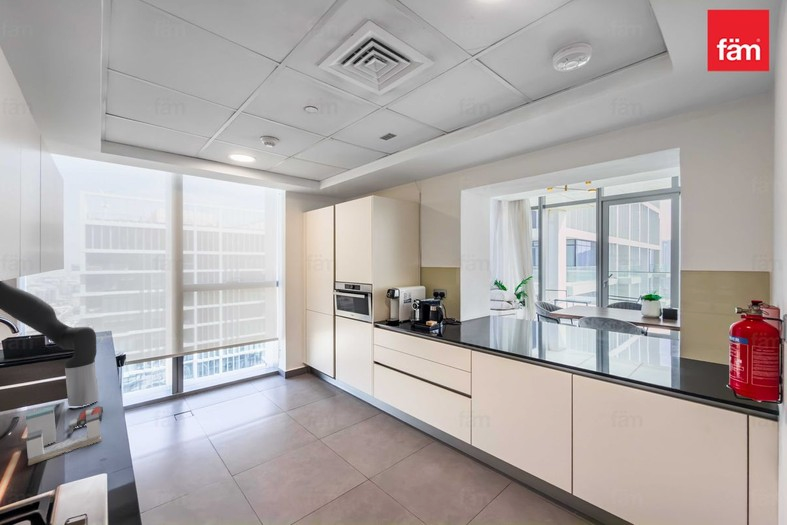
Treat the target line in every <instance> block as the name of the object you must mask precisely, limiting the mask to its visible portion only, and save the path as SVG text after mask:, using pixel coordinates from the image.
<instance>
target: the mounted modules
mask: <svg viewBox="0 0 787 525" xmlns="http://www.w3.org/2000/svg"><path fill="white" fill-rule="evenodd" d="M86 422H87V426H86V430H87V432H86V434H88V439H89V438H92V437H95V436H99V435H100V436H101V434H102V433H101V424H100V423H101V422H99V415H98V413H97V414H93V415H90V416H86ZM25 438H26V439H25V440H26V441H25V442H26V450H27V459H28V460H29V458H32V457H35V456H38V455H41V454H43V450H44V448H45V446H43V435H42V430H38V431H35V432H32V433H28V434H27V435H26V437H25Z"/></svg>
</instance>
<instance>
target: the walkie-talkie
mask: <svg viewBox="0 0 787 525" xmlns="http://www.w3.org/2000/svg"><path fill="white" fill-rule="evenodd" d="M103 409H104V408H103V406H93V407H90V408H89V407H88V408H86V409H84V410H82V411H81V412H79V415H78V417H76V418H74V419H72V420H70V422H69V424H68V425H67V427H68V432H67V435H66V436H70V437H71V436H72V435H73V432H74V430H75V429H74V428H75V427H77V426H78V427H80V426H84V425H85V424H87V422H86V416H90V415H93V414H97V413H98V415H99V421H101V422H102V418H103V414H104V411H103ZM102 413H103V414H102ZM84 427H85V426H84ZM69 428H70V430H69Z"/></svg>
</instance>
